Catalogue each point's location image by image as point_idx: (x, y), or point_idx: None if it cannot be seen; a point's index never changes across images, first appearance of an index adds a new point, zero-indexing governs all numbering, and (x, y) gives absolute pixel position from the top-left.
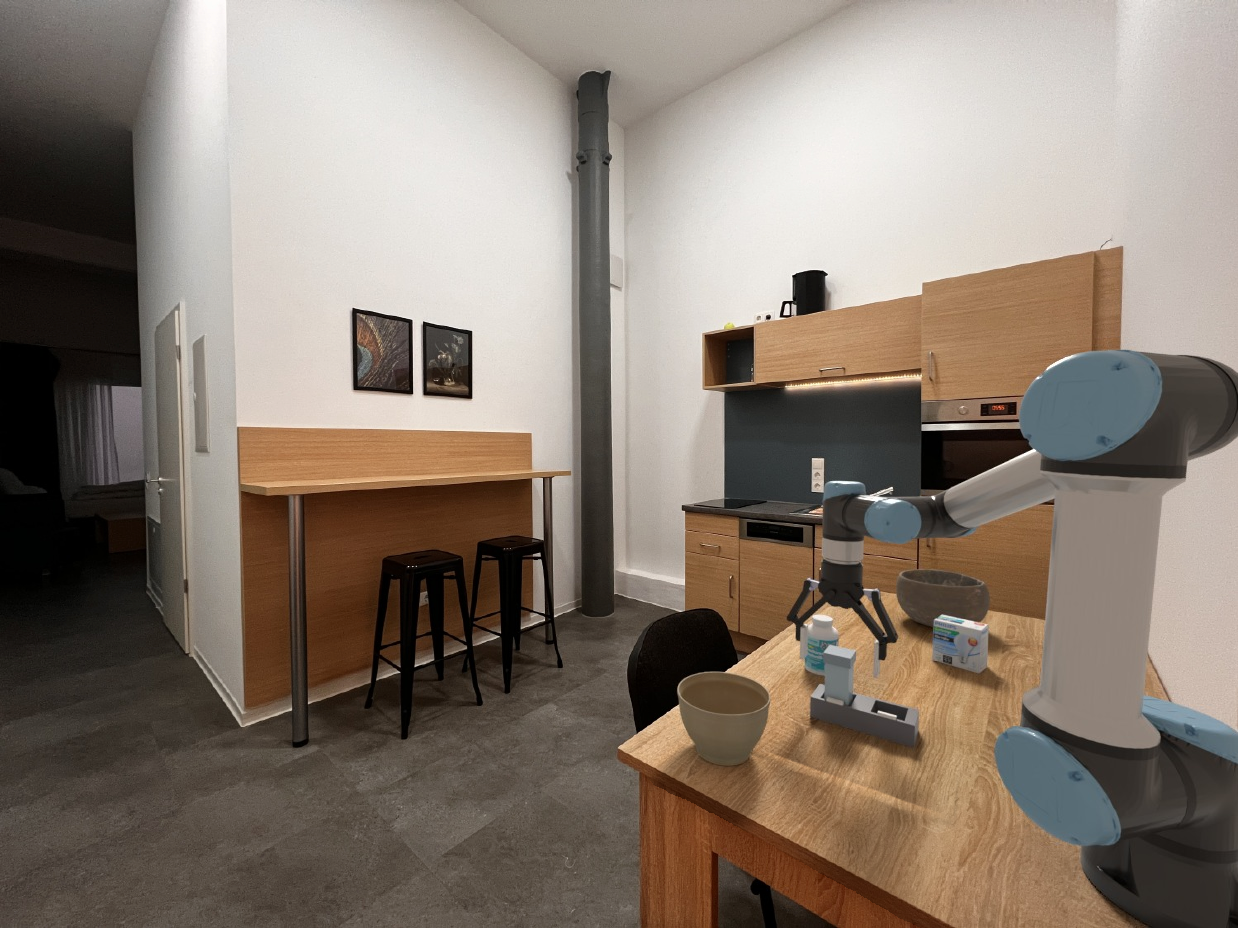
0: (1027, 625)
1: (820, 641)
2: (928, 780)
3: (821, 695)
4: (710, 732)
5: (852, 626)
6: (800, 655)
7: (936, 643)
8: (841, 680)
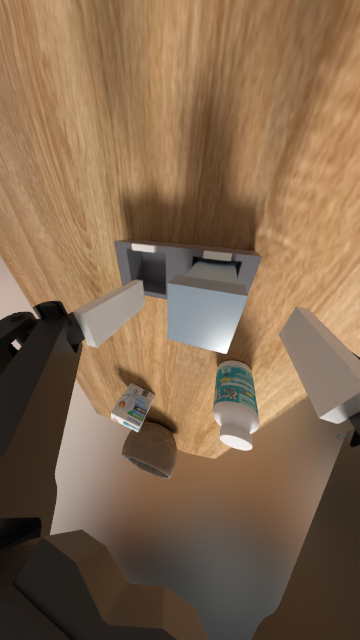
0: None
1: (237, 400)
2: (110, 175)
3: (240, 271)
4: None
5: (207, 430)
6: (310, 313)
7: (146, 406)
8: (202, 272)
